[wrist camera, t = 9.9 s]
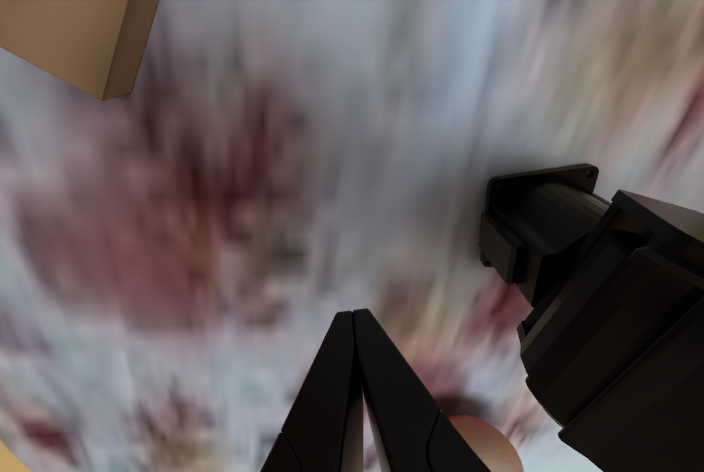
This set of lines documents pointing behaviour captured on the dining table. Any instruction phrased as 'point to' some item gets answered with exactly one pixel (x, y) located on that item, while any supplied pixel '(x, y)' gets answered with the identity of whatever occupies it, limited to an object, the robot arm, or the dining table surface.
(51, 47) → the wooden slotted board
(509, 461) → the decorative fruit
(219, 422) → the dining table surface
